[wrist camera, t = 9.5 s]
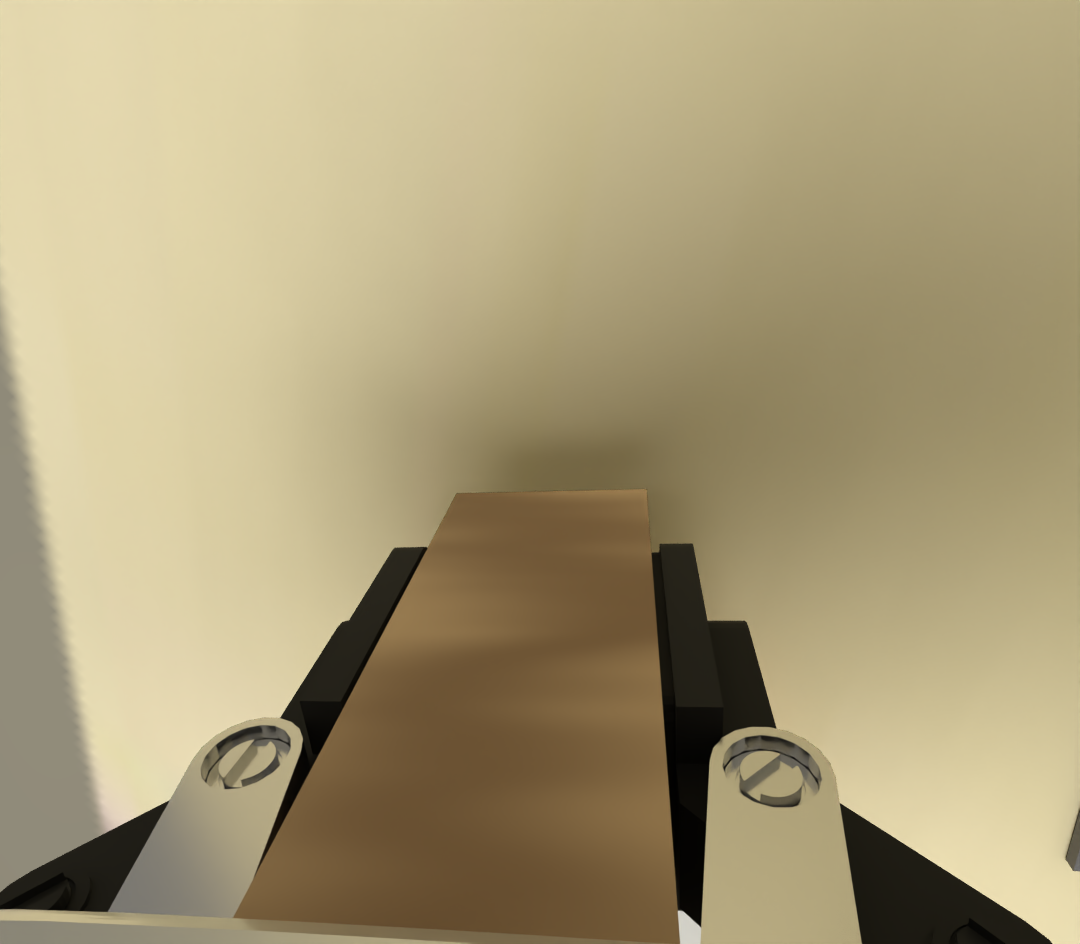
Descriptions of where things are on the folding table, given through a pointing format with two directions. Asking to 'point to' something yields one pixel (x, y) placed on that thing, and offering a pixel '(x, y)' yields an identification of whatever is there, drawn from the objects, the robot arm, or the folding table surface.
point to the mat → (1075, 848)
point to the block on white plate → (499, 741)
